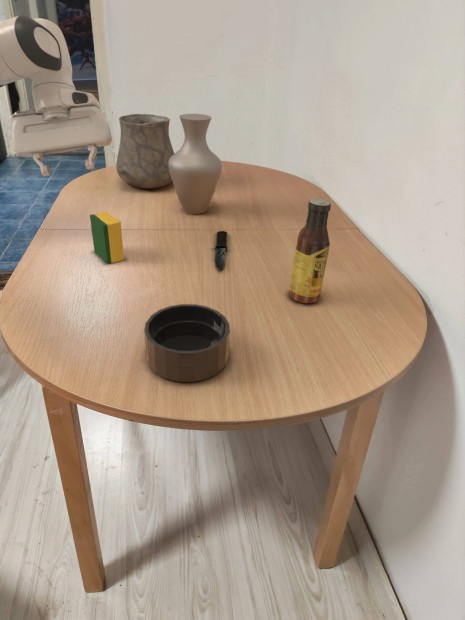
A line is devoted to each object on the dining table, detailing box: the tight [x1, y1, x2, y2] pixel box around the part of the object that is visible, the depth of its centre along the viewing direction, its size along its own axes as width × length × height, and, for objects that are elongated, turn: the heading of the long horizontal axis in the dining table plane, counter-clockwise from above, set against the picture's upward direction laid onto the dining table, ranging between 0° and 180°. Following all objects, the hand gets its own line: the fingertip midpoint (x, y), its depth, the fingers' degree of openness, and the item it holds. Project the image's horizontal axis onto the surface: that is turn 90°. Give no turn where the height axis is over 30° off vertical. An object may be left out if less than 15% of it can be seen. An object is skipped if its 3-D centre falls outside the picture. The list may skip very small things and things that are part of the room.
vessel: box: [115, 113, 175, 189], centre depth 141 cm, size 22×22×20 cm
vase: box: [168, 113, 223, 215], centre depth 122 cm, size 14×14×25 cm
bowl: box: [143, 303, 231, 383], centre depth 72 cm, size 13×13×6 cm
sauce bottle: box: [289, 198, 332, 304], centre depth 86 cm, size 6×6×20 cm
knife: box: [214, 230, 228, 272], centre depth 106 cm, size 21×1×3 cm
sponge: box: [89, 211, 125, 265], centre depth 100 cm, size 4×7×9 cm, turn 37°
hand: (68, 171), depth 97 cm, fingers open, 8 cm apart
